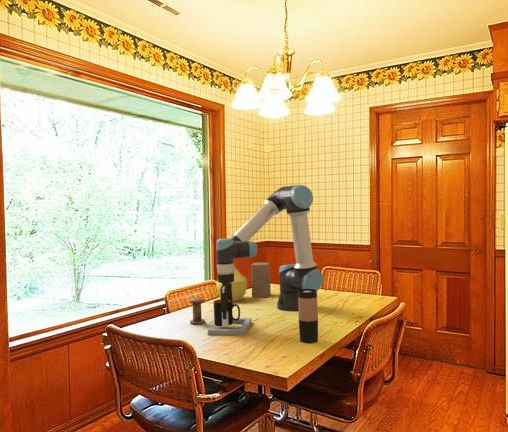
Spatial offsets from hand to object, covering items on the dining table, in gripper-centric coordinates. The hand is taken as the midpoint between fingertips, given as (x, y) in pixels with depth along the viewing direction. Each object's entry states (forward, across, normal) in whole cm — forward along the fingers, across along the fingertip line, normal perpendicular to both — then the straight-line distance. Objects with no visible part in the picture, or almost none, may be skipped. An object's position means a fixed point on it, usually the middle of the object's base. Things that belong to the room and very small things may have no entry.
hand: (227, 323), depth 188 cm
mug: (0, 0, 0) cm, 0 cm away
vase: (+2, -59, -10) cm, 60 cm away
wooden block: (+3, -70, +6) cm, 70 cm away
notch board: (+2, 0, +1) cm, 3 cm away
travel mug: (+2, +16, +36) cm, 40 cm away
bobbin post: (+2, -9, -17) cm, 19 cm away
